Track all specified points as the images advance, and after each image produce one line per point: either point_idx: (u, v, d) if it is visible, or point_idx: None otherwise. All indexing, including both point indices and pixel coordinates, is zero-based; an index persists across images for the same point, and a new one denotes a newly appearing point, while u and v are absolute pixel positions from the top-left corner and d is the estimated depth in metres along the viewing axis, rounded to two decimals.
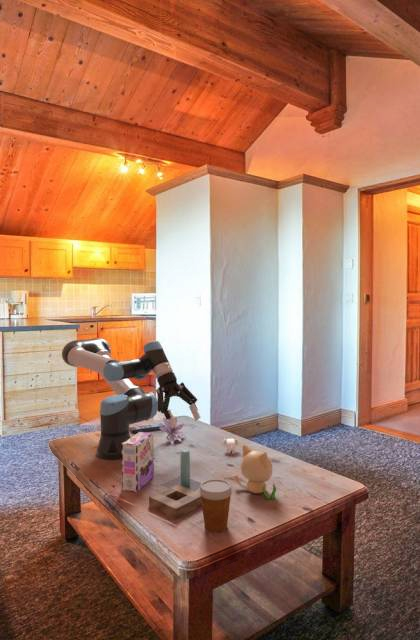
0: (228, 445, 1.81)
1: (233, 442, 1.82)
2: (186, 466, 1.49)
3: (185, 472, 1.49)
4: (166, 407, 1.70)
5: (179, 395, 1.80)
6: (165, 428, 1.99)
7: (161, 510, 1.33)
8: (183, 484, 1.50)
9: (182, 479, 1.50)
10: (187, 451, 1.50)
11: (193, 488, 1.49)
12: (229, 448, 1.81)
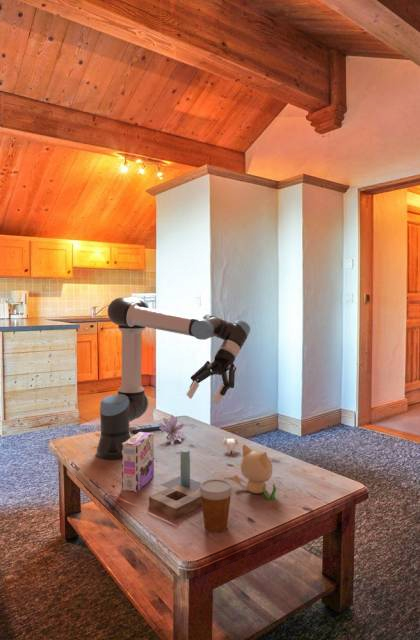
0: (228, 445, 1.81)
1: (233, 442, 1.82)
2: (186, 466, 1.49)
3: (185, 472, 1.49)
4: None
5: (209, 372, 1.71)
6: (165, 428, 1.99)
7: (161, 510, 1.33)
8: (183, 484, 1.50)
9: (182, 479, 1.50)
10: (187, 451, 1.50)
11: (193, 488, 1.49)
12: (229, 448, 1.81)
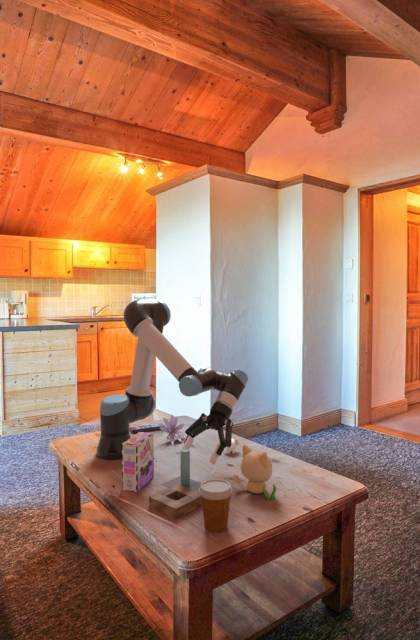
0: None
1: (233, 442, 1.82)
2: (186, 466, 1.49)
3: (185, 472, 1.49)
4: None
5: (205, 427, 1.61)
6: (165, 428, 1.99)
7: (161, 510, 1.33)
8: (183, 484, 1.50)
9: (182, 479, 1.50)
10: (187, 451, 1.50)
11: (193, 488, 1.49)
12: (229, 448, 1.81)
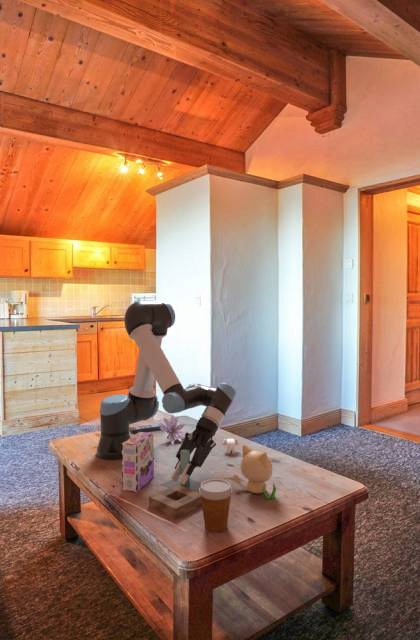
0: (228, 445, 1.81)
1: (233, 442, 1.82)
2: None
3: None
4: None
5: (193, 445, 1.55)
6: (165, 428, 1.99)
7: (161, 510, 1.33)
8: None
9: None
10: (187, 451, 1.50)
11: (193, 488, 1.49)
12: (229, 448, 1.81)
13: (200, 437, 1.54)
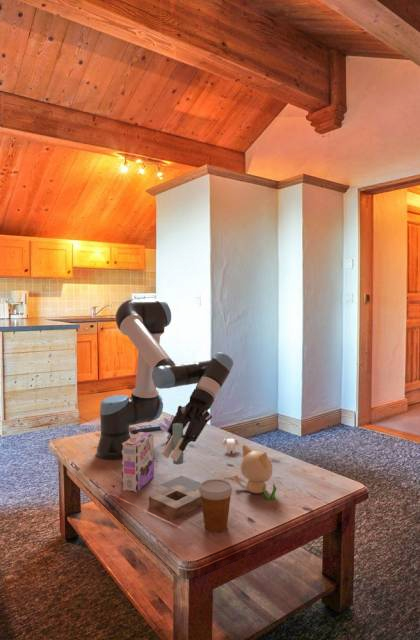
0: (228, 445, 1.81)
1: (233, 442, 1.82)
2: None
3: None
4: None
5: (187, 418, 1.41)
6: (166, 428, 2.00)
7: (161, 510, 1.33)
8: (176, 461, 1.35)
9: None
10: (180, 424, 1.36)
11: (193, 488, 1.49)
12: (229, 448, 1.81)
13: (194, 409, 1.40)
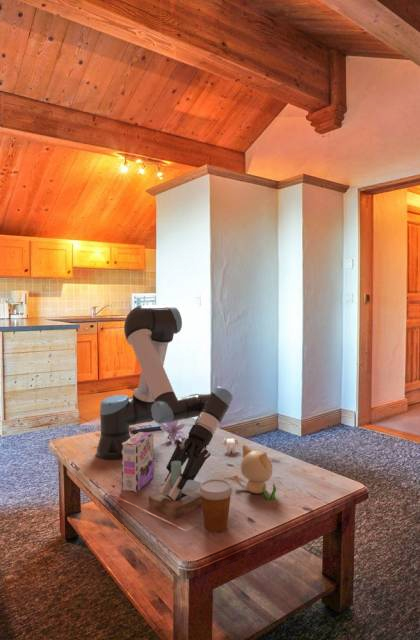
0: (228, 445, 1.81)
1: (233, 442, 1.82)
2: (177, 478, 1.35)
3: None
4: None
5: (185, 455, 1.41)
6: (166, 428, 2.00)
7: (161, 510, 1.33)
8: None
9: None
10: (178, 462, 1.36)
11: (193, 488, 1.49)
12: (229, 448, 1.81)
13: (193, 447, 1.40)
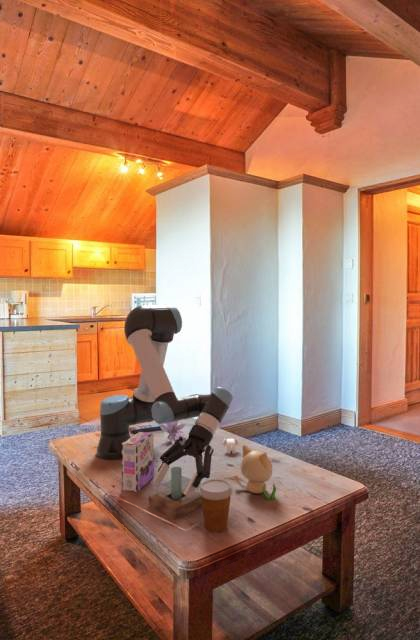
0: (228, 445, 1.81)
1: (233, 442, 1.82)
2: (177, 485, 1.35)
3: (176, 493, 1.35)
4: None
5: (182, 453, 1.43)
6: (166, 428, 2.00)
7: (161, 510, 1.33)
8: None
9: None
10: (178, 469, 1.36)
11: None
12: (229, 448, 1.81)
13: (194, 447, 1.40)
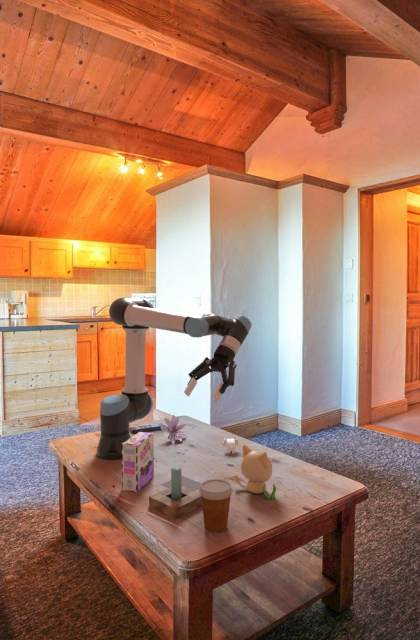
0: (228, 445, 1.81)
1: (233, 442, 1.82)
2: (178, 485, 1.35)
3: (176, 493, 1.35)
4: None
5: (208, 369, 1.63)
6: (166, 428, 2.00)
7: (161, 510, 1.33)
8: None
9: None
10: (178, 469, 1.36)
11: (193, 488, 1.49)
12: (229, 448, 1.81)
13: (219, 362, 1.60)
